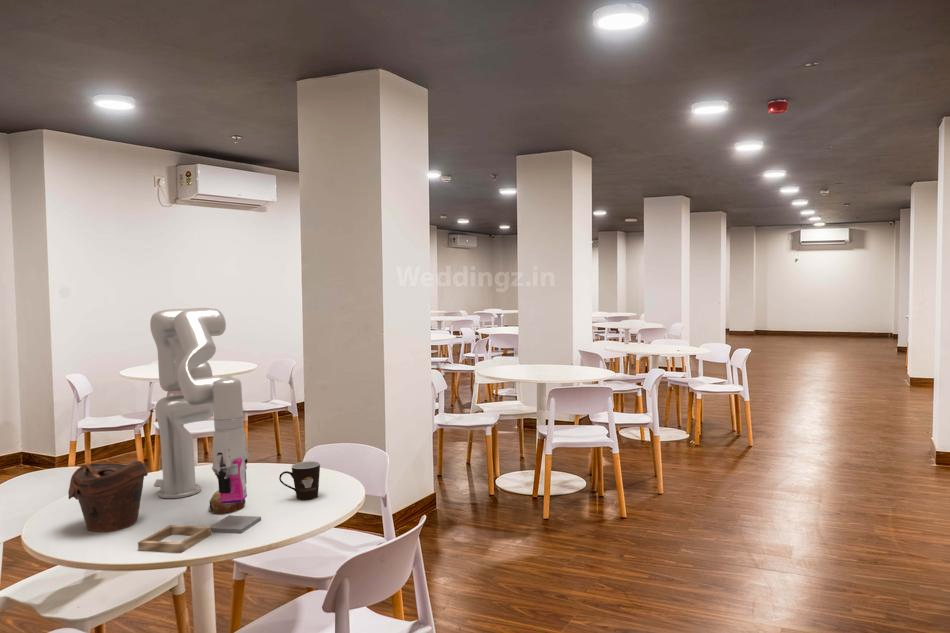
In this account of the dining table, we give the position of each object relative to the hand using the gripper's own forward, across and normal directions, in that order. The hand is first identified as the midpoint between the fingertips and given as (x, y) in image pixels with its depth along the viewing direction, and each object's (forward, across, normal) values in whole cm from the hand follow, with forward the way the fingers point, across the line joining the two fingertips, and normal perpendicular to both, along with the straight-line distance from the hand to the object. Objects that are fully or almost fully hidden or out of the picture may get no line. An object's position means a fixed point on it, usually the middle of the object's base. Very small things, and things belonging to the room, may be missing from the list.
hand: (233, 488), depth 190 cm
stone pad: (+10, 0, 0) cm, 10 cm away
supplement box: (+3, 0, 0) cm, 3 cm away
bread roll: (+11, -14, -11) cm, 21 cm away
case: (+11, +3, -37) cm, 39 cm away
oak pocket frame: (+10, +13, -9) cm, 19 cm away
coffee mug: (+11, -26, +7) cm, 29 cm away
